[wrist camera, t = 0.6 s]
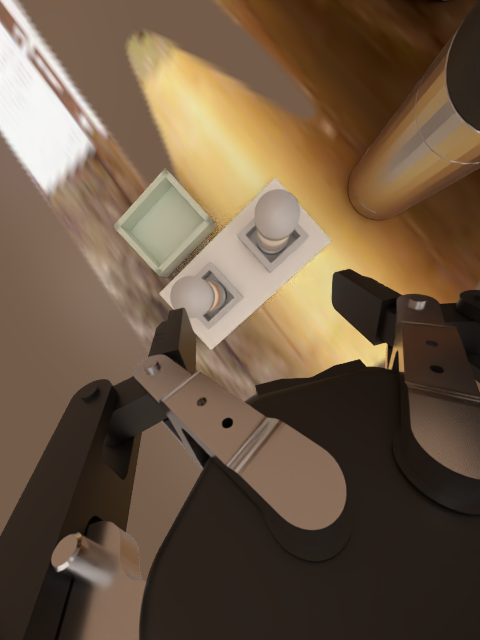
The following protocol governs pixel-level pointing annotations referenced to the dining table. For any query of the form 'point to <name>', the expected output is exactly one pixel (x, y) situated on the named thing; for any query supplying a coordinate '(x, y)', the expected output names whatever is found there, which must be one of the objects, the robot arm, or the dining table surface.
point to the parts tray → (165, 224)
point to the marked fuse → (197, 295)
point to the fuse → (275, 220)
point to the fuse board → (247, 268)
